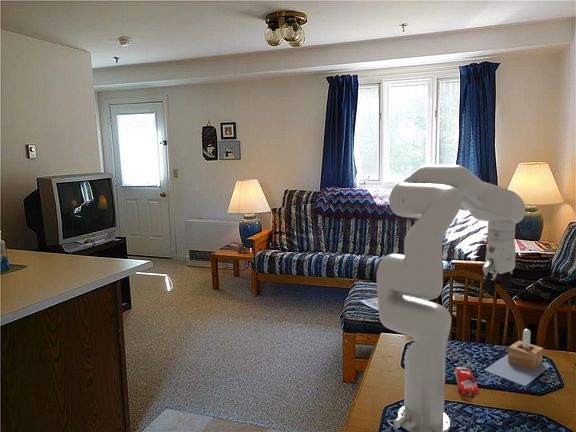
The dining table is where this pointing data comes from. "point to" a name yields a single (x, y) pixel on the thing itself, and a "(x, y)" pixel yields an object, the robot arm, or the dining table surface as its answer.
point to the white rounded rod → (526, 340)
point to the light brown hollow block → (525, 355)
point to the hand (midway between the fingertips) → (497, 288)
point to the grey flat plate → (515, 371)
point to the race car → (465, 382)
